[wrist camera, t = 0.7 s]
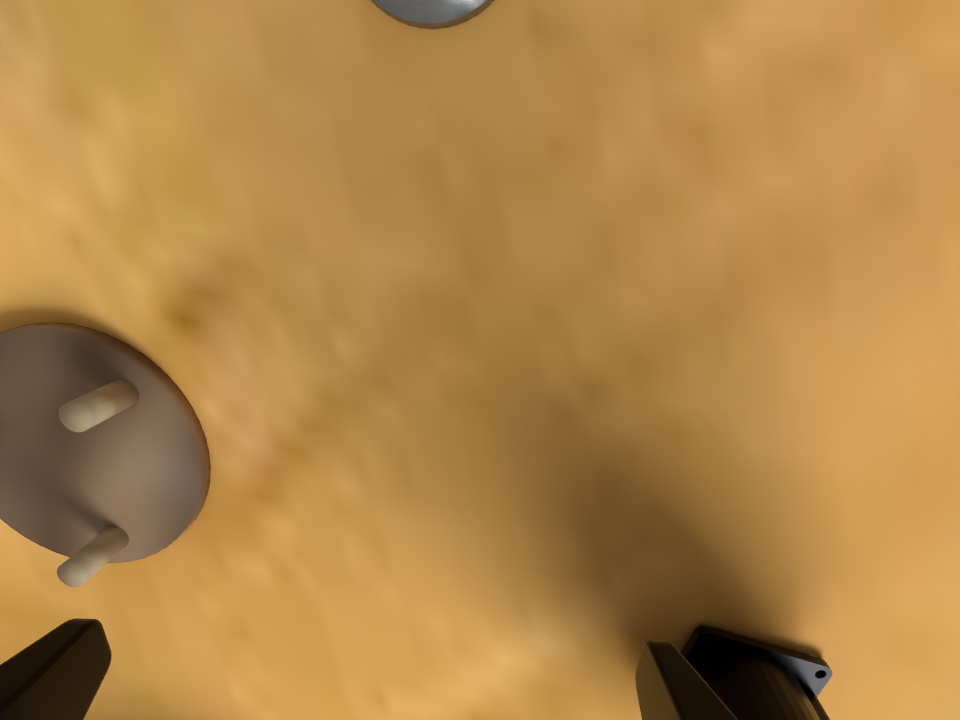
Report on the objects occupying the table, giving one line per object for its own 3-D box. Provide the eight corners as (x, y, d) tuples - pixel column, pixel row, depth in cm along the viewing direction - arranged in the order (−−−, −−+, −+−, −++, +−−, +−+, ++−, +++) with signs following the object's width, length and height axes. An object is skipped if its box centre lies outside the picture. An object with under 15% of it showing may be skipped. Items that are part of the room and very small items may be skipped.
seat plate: (224, 368, 21) (172, 398, 18) (197, 578, 25) (150, 634, 22) (-44, 289, 21) (-144, 305, 18) (-31, 513, 24) (-112, 559, 21)
